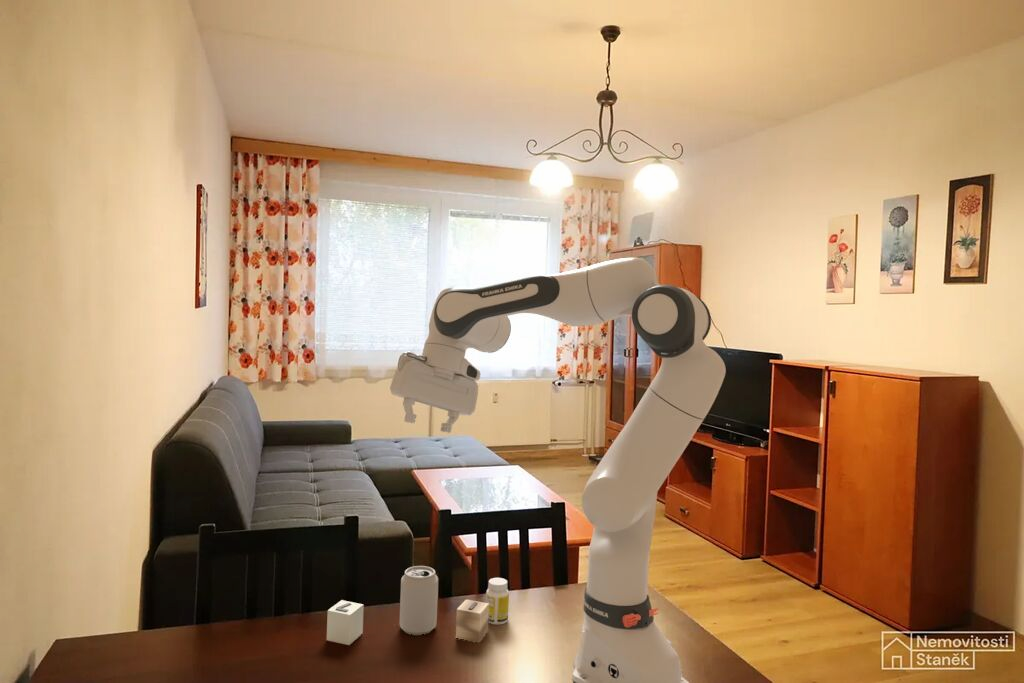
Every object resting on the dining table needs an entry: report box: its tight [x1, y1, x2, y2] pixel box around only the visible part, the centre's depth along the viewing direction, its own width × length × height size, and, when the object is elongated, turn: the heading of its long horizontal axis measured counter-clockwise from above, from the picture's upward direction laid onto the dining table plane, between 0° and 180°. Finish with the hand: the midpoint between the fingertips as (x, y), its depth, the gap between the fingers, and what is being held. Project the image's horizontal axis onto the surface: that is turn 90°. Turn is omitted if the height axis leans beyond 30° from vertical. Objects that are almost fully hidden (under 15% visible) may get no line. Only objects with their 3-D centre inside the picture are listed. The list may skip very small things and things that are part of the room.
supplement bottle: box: [485, 577, 510, 626], centre depth 143 cm, size 5×5×8 cm
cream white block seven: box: [326, 599, 365, 646], centre depth 133 cm, size 5×5×6 cm
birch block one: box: [455, 598, 489, 644], centre depth 136 cm, size 5×5×6 cm
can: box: [399, 565, 439, 636], centre depth 138 cm, size 8×8×12 cm
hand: (427, 427), depth 140 cm, fingers open, 8 cm apart
